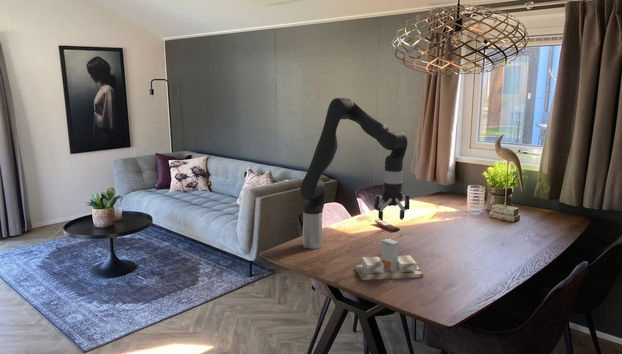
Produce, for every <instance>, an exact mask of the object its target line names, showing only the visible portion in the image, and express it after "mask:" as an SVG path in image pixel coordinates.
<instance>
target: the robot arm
mask: <svg viewBox="0 0 622 354" xmlns="http://www.w3.org/2000/svg"><path fill="white" fill-rule="evenodd" d="M341 120H350V121H353V122H355V123H357V124H358V125H359V126H360V127H361V129H362V131H364V133H365V134H367V135H369V136H370V137H371V138H373V139H375V140H376V141H377V142H378V143H379V145H380V146H381V147H382V148H384V149H385V150H387V151H391V153H390V154H389V155H387V156H386V157H385V159H384V173H383V184H382V185H383V188H382V189H383V191H382V195H378V194H375V195H374V205H373V208H374V209H375V210H376V211H378V219H379V220H380V221H383V219H384V218H383V216H384V212H383V211H385V208H387V207H388V206H389V207H392V206H394V207H397V206H398V208H399V209H400V210H399V220H401V221H402V220H403V219H405V212H406V211H407V210H408V211H409V210H410V195H408V194H407V193H405V194H402V193H403V181H404V179H403V175H404V174H403V168H404V167H403V166H404V165H403V163H404V159H405V155H406V151H407V148H408V143H409V142H408V137H407V135H406V133H405V132H402V131H393V132H391V131H390V129H389V127H388V126H387V125H386V124H385V123H383V122H382V121H379V120H378V119H377V118H374V117H373V116H372V115H370V114H368V113H367V112H366V111H365V110H364V109H362V108H361V107H360V106H359V105H358V104H357V103H356V102H354V101H353V100H352V99H350V98H346V97H345V98H344V97H343V98H342V97H335V98H333V99H332V100H331V101H330V103H329V104H328V108H327V112H326V117H325V120H324V125H323V127H322V130H321V133H320V136H319V140H318V142H317V145H316V147H315V150H314V153H313V156H312V158H311V161H310V164H309V167H308V170H307V172H306V173H305V175H304V178H303V179H302V182H301V184H300V187H299V188H300V190H299V193H300V195H301V197H302V198H303V200H305V201H306V200H307V202H306V203H305V205H303V210H302V211H303V213H302V214H303V218H302V220H303V222H302V223H303V224H302V246H303V248H304V249H311V250H312V249H313V250H315V249H320V248H322V246H323V209H324V206H325V199H326V196H325V195H326V186H325V183H324V182H323V180H322V179H320V178H321V177H322V175H323V174H324V173H325V171H326V170H327V169H328V168H329V166H330V165H331V164H332V162H333V161H334V158H335V155H336V153H337V151H338V146H339V145H338V139H337V129H338V126H339V123H340V121H341ZM381 200H383V201H382V202H381ZM402 200H404V205H403V204H402V203H401V201H402ZM380 202H381V204H380Z"/></svg>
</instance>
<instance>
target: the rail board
mask: <svg viewBox="0 0 622 354" xmlns="http://www.w3.org/2000/svg"><path fill="white" fill-rule="evenodd" d="M361 259H362V261H361V264H356V265H355V270H356V272H357V273H358V275H359V278H360V280H362V281H365V280H369V281H370V280H387V279H388V280H389V279H391V280H392V279H410V278H424V272H423V271H421V268H420V266H419V265H418V263H417V261H416V260H414V258H413V257H412V256H411V255H398V268H397V269H395V270H393V271H390V270H388V269H386V268H384V264H383V262H382V261H381V257H379V256H362V257H361Z"/></svg>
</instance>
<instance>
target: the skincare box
mask: <svg viewBox="0 0 622 354" xmlns="http://www.w3.org/2000/svg"><path fill="white" fill-rule="evenodd" d="M399 246H400V241H397V240H395V239H390V238H386V239H382V240H381V252H380V253H381V255H380V260H381V261H382V262H383V264H384V268H386V269H388V270H390V271H393V270H395V269H397V268H398V256H399Z"/></svg>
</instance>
